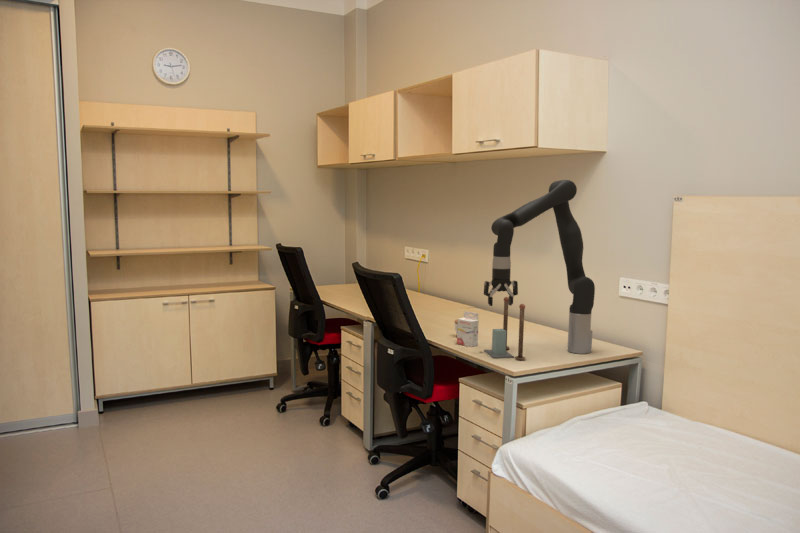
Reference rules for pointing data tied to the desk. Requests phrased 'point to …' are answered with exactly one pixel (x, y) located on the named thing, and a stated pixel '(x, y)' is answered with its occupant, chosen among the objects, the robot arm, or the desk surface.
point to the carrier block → (499, 341)
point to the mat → (498, 355)
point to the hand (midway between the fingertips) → (500, 305)
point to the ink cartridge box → (468, 330)
